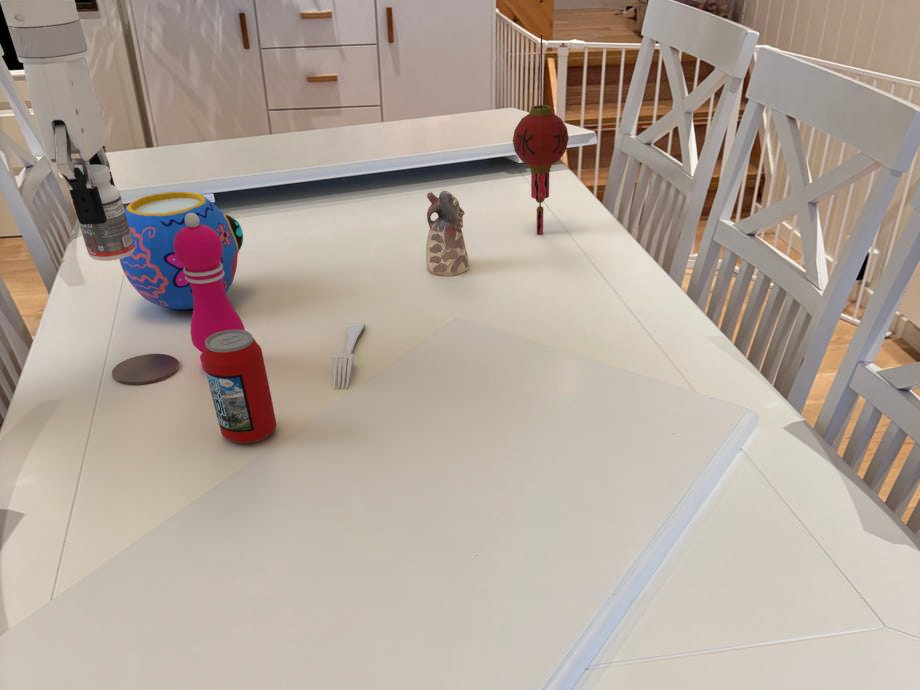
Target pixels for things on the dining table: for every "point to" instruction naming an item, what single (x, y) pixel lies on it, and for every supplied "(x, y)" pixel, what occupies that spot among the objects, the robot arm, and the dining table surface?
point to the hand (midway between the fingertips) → (100, 213)
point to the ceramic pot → (154, 245)
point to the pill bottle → (107, 222)
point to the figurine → (445, 237)
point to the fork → (346, 354)
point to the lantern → (540, 147)
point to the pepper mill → (205, 281)
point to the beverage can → (239, 386)
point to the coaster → (145, 369)
